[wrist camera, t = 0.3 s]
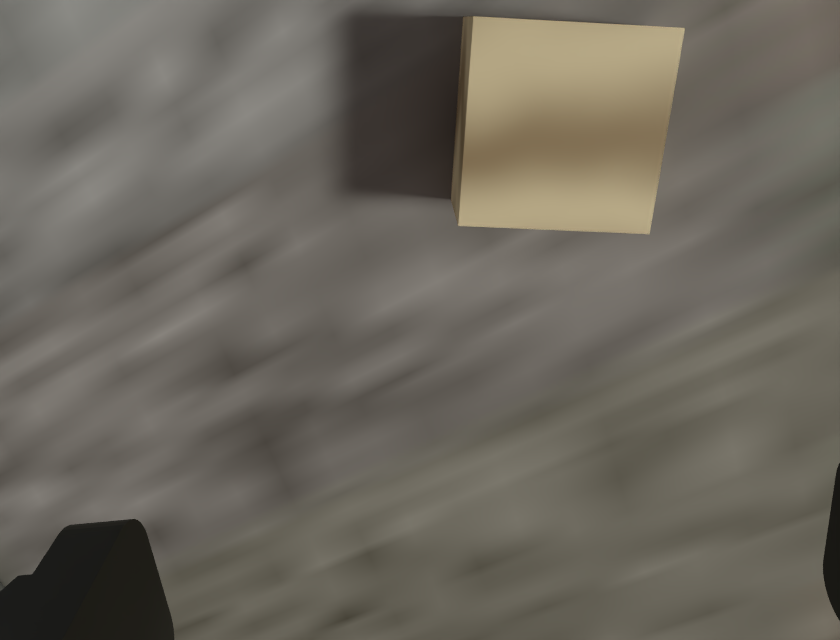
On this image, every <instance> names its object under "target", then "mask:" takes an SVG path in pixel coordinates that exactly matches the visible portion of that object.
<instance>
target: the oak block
mask: <svg viewBox="0 0 840 640" xmlns="http://www.w3.org/2000/svg"><path fill="white" fill-rule="evenodd" d="M684 31H685V28H674V27H656V26H638V25H620V24H602V23H584V22H566V21H548V20H530V19H512V18H494V17H476V16H469V17H463V27H462V42H461V57H460V72H459V87H458V101H457V116H456V131H455V146H454V161H453V176H452V191H451V202H452V205H453V209H454V212H455V216H456V219H457V223H458V226H475V227H498V228H522V229H545V230H568V231H591V232H614V233H637V234H650V228H651V222H652V216H653V210H654V205H655V199H656V193H657V187H658V181H659V176H660V170H661V164H662V158H663V152H664V147H665V141H666V135H667V129H668V123H669V118H670V112H671V106H672V100H673V94H674V89H675V83H676V77H677V71H678V66H679V60H680V54H681V48H682V42H683V37H684Z"/></svg>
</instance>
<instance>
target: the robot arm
mask: <svg viewBox="0 0 840 640" xmlns="http://www.w3.org/2000/svg"><path fill="white" fill-rule="evenodd" d="M823 574H824V582H825V587H826V590H827V594H828V597H829V600H830V603H831V605H832V607H833V610H834V611H835V613H836V615H837V617H838V619H839V620H840V463H839V466H838V468H837V472H836V478H835V485H834V492H833V498H832V505H831V512H830V519H829V526H828V532H827V539H826V546H825V553H824V560H823ZM0 640H174V629H173V622H172V618H171V614H170V611H169V607H168V604H167V601H166V597H165V594H164V590H163V587H162V584H161V580H160V577H159V573H158V570H157V567H156V563H155V560H154V556H153V553H152V550H151V546H150V543H149V539H148V536H147V533H146V530H145V529H144V527H143V525H142V524H141V522H139V521H138V520H136V519H129V520H118V521H108V522H97V523H86V524H75V525H69V526H67V527H65V528H64V529H63V530H62V531H61V532H60V533H59V535H58V536H57V538H56V539H55V541H54V542H53V544H52V545H51V547H50V548H49V550H48V551H47V553H46V554H45V556H44V557H43V559H42V561H41V562H40V564H39V565H38V567H37V568H36V570H35V571H34V573H33V574H31V575H21V576H17V577H16V578H15V579H14V580H13V581H12V582H10V583H9V584H8V585H7V586H6V587H5V588H3V589H2V590H1V591H0Z"/></svg>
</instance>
